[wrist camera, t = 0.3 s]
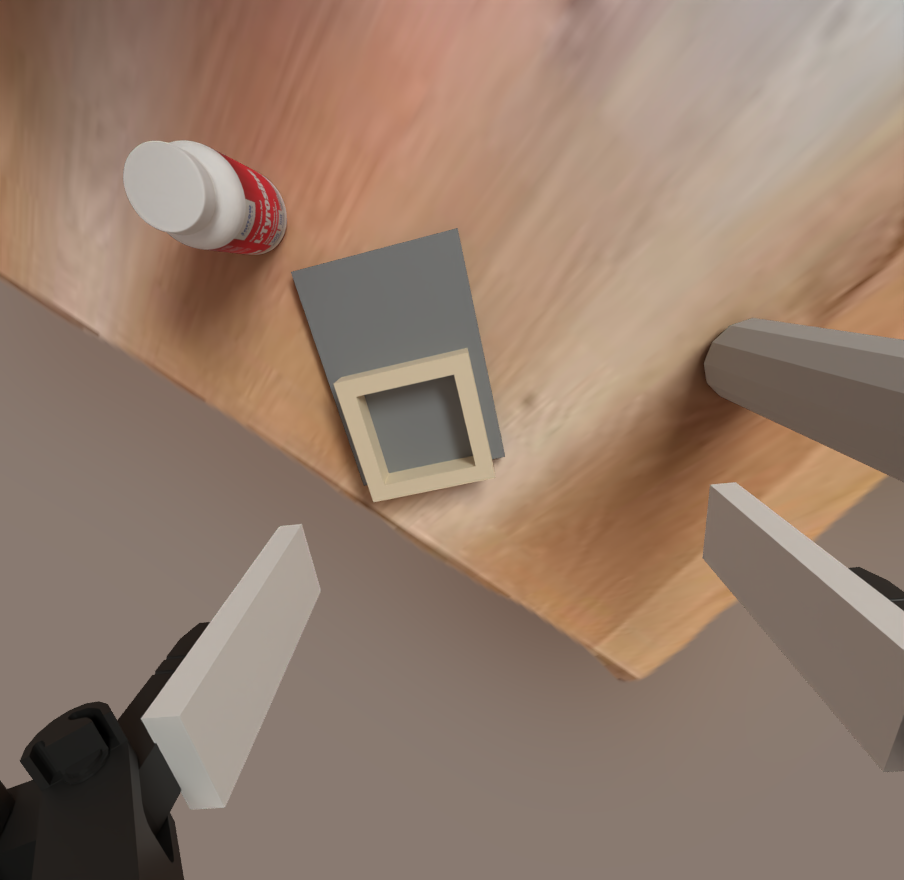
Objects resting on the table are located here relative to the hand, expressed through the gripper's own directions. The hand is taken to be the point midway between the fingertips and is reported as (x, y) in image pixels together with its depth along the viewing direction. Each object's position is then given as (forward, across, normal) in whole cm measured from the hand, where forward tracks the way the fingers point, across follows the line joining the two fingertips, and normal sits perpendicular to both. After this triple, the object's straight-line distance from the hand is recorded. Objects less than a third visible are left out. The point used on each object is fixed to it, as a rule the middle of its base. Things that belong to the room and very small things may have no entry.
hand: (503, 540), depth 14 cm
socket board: (+27, -6, +1) cm, 28 cm away
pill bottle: (+27, -17, +15) cm, 35 cm away
